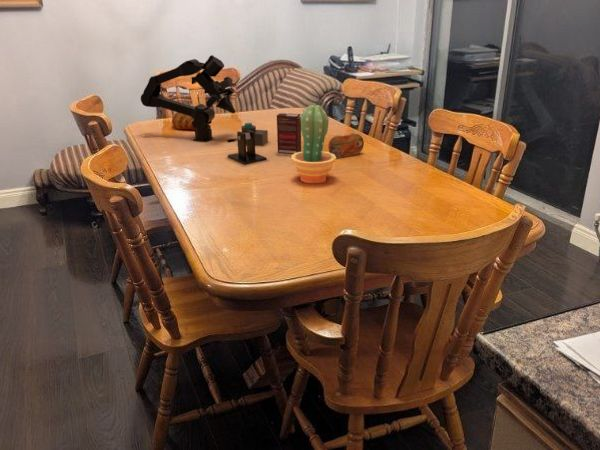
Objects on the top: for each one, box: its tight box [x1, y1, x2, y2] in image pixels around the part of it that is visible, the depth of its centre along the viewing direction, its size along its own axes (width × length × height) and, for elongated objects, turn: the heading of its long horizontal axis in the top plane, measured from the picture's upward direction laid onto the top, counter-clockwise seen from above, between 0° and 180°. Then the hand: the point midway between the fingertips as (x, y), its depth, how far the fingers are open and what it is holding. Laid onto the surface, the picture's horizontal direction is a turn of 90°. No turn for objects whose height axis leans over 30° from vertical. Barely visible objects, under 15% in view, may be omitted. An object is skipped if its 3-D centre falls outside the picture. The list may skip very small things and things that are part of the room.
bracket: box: [227, 130, 268, 166], centre depth 200 cm, size 12×10×11 cm
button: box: [244, 122, 253, 128], centre depth 221 cm, size 3×3×2 cm
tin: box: [327, 133, 365, 159], centre depth 205 cm, size 15×3×8 cm, turn 117°
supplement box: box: [276, 112, 302, 157], centre depth 205 cm, size 9×5×16 cm, turn 71°
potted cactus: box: [290, 104, 337, 184], centre depth 176 cm, size 15×15×25 cm
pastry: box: [171, 112, 195, 130], centre depth 249 cm, size 21×13×8 cm, turn 33°
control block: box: [240, 124, 269, 147], centre depth 222 cm, size 10×7×7 cm
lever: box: [226, 132, 251, 143], centre depth 202 cm, size 11×6×2 cm, turn 39°
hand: (234, 112), depth 221 cm, fingers closed
